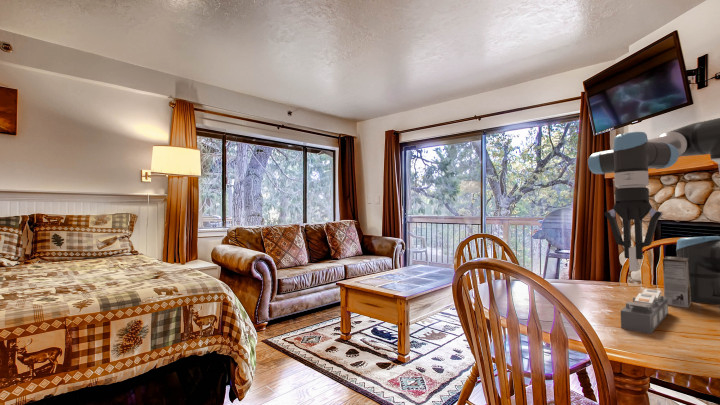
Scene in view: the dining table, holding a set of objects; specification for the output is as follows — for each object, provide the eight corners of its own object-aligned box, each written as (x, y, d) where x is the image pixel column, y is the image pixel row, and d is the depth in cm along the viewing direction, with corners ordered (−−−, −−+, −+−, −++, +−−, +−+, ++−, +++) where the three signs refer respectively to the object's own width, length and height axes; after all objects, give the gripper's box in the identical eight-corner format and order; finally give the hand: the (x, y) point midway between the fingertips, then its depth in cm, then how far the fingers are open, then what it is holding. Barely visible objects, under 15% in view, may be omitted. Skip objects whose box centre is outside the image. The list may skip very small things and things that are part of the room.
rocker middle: (639, 296, 105) (638, 292, 105) (655, 299, 102) (655, 294, 102) (634, 304, 101) (634, 300, 101) (652, 307, 98) (651, 302, 98)
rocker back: (645, 292, 110) (644, 288, 110) (661, 294, 107) (660, 290, 107) (641, 299, 107) (640, 295, 106) (657, 301, 104) (657, 297, 103)
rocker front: (632, 306, 99) (632, 301, 100) (650, 309, 96) (650, 304, 97) (627, 305, 96) (627, 300, 96) (645, 308, 93) (645, 303, 93)
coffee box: (667, 299, 124) (665, 255, 124) (691, 302, 119) (689, 257, 119) (663, 304, 118) (661, 258, 118) (689, 308, 113) (687, 260, 113)
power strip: (642, 309, 112) (641, 290, 113) (669, 313, 107) (668, 293, 107) (621, 328, 95) (620, 305, 95) (651, 334, 90) (651, 311, 90)
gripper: (600, 188, 98) (602, 269, 97) (659, 185, 88) (662, 275, 87) (607, 189, 102) (609, 266, 102) (664, 186, 92) (667, 272, 92)
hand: (633, 270), depth 94 cm, fingers closed
